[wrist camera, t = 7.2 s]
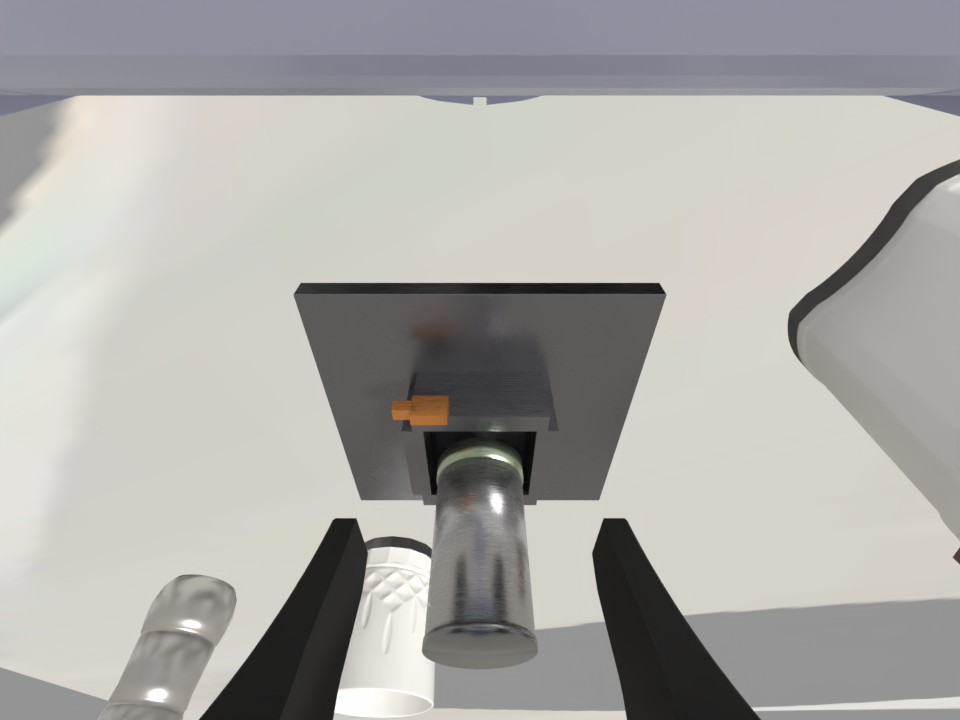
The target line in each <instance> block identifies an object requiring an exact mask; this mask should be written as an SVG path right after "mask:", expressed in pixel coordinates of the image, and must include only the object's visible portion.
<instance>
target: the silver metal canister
mask: <svg viewBox="0 0 960 720" xmlns="http://www.w3.org/2000/svg"><path fill="white" fill-rule="evenodd" d="M437 486H438V488H437V499H436V511H435V522H434V533H433V545H432V556H431V568H430V579H429V591H428V602H427V613H426V625H425V636H424V638H423V643H422V653H423V655H424V656H425V657H426V658H427V659H429V660H431V661H433V662H435V663H438V664H441V665H445V666H449V667H455V668H463V669H497V668H505V667H511V666H515V665H519V664H522V663H525V662H527V661H529V660H531V659H533V658H534V657H535V656H536V655H537V653H538V643H537V638H536V636H535V625H534V613H533V602H532V591H531V579H530V568H529V556H528V545H527V533H526V522H525V511H524V499H523V488H522V486H523V469H522V460H521V457H520V455H519V453H518V452H517V451H516V450H515V449H514V448H513V447H511V446H510V445H508V444H507V443H505V442H502V441H500V440H497V439H492V438H485V437H475V438H468V439H463V440H460V441H458V442H455V443H453V444H452V445H450V446H449V447H447V448H446V449H445V450H444V451H443V452H442V453H441V455H440V457H439V460H438V469H437Z"/></svg>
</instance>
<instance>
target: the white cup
mask: <svg viewBox="0 0 960 720" xmlns="http://www.w3.org/2000/svg"><path fill="white" fill-rule="evenodd" d="M365 545H366V548H367V551H368V557H367V565H366V572H365V579H364V585H363V591H362V595H361V600H360V604H359V608H358V612H357V616H356V620H355V624H354V628H353V632H352V636H351V640H350V644H349V648H348V652H347V656H346V660H345V664H344V668H343V671H342V675H341V680H340V685H339V689H338V694H337V699H336V705H335V711H334V713H338V714H344V715H350V716H358V717H372V718H393V717H406V716H413V715H418V714H422V713H425V712H427V711H429V710H431V709H432V708H433V707H434V686H435V662H433V661H431V660H429V659H427V658H426V657H425V656H424V655H423V653H422V643H423V638H424V636H425V625H426V613H427V602H428V591H429V579H430V568H431V556H432V549H431V548H430V547H429V546H428V545H427V544H425V543H422V542H420V541H417V540H414V539H411V538H404V537H396V536H388V537H379V538H373V539H371V540H369V541H366V542H365Z"/></svg>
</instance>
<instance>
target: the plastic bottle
mask: <svg viewBox="0 0 960 720" xmlns="http://www.w3.org/2000/svg"><path fill="white" fill-rule="evenodd" d="M236 602H237V598H236V593H235V589H234V588H233V587H232V586H231V585H230V584H228V583H227V582H225V581H222V580H220V579H217V578H214V577H210V576H205V575H197V574H188V575H181V576H178V577H176V578H175V579H173V580H172V581H170V582H169V583H167V584H166V585H165V586H164V587H163V589H162V590H161V591H160V593H159V594H158V595H157V597H156V598H155V599H154V601H153V602H152V604H151V606H150V608H149V611H148V613H147V616H146V618H145V620H144V623H143V626H142V630H141V636H140V637H139V639H138V641H137V643H136V646H135V648H134V650H133V652H132V654H131V656H130V659H129V661H128V663H127V665H126V667H125V669H124V672H123V674H122V676H121V678H120V680H119V683H118V685H117V686H116V688H115V690H114V691H113V693H112V695H111V697H110V698H109V702H108V704H107V706H106V707H105V708H104V709H103V710H102V712H101V714H100V715H99V717H98V719H97V720H183V715H184V712H185V710H187V707H188V705H189V702H190V699H191V697H192V694H193V692H194V690H195V688H196V686H197V684H198V682H199V680H200V678H201V676H202V674H203V672H204V670H205V668H206V666H207V664H208V662H209V660H210V658H211V656H212V654H213V652H214V649H215V647H216V646H217V645H218V644H219V642H220V640H221V639H222V637H223V636H224V634H225V632H226V630H227V628H228V626H229V624H230V623H231V621H232V618H233V615H234V611H235V606H236Z"/></svg>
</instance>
